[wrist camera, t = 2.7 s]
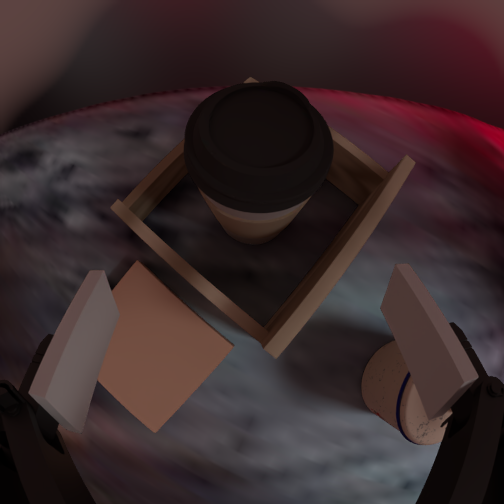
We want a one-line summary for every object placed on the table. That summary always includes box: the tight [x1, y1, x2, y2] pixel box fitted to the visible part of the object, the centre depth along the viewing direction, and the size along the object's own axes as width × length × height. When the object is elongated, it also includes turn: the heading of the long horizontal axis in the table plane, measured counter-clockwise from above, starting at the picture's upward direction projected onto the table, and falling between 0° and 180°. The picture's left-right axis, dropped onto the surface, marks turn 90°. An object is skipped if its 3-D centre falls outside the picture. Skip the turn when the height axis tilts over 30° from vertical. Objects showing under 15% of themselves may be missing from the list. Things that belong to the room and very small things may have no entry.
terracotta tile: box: [97, 260, 234, 433], centre depth 25 cm, size 12×12×2 cm
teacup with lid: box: [361, 340, 452, 445], centre depth 20 cm, size 12×9×12 cm
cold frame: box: [110, 77, 416, 359], centre depth 24 cm, size 18×18×10 cm
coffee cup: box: [184, 81, 334, 245], centre depth 22 cm, size 9×9×15 cm
